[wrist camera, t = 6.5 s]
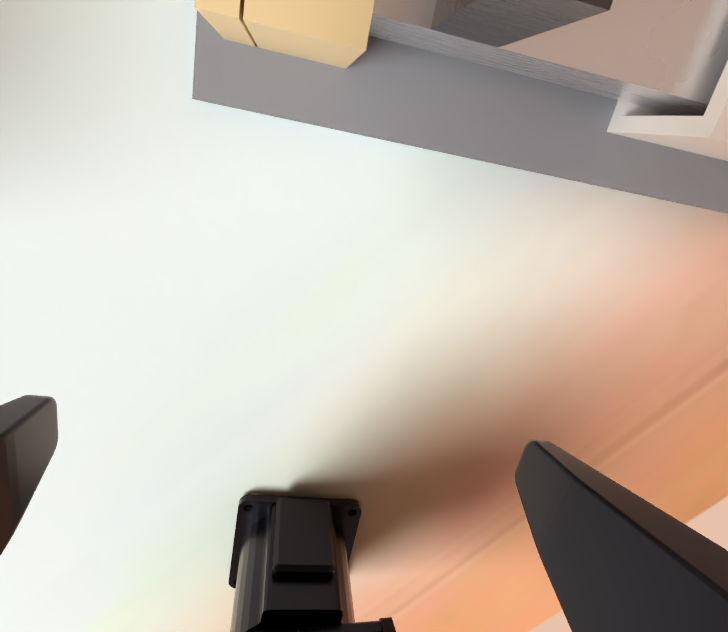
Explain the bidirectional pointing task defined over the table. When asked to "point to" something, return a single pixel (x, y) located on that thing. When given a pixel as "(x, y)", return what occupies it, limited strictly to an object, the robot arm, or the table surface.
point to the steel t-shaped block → (578, 43)
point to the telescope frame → (450, 101)
